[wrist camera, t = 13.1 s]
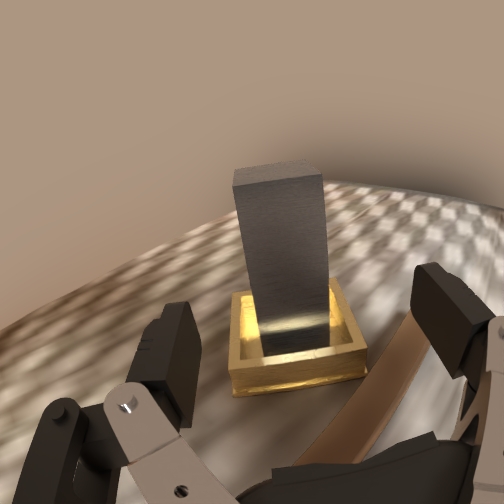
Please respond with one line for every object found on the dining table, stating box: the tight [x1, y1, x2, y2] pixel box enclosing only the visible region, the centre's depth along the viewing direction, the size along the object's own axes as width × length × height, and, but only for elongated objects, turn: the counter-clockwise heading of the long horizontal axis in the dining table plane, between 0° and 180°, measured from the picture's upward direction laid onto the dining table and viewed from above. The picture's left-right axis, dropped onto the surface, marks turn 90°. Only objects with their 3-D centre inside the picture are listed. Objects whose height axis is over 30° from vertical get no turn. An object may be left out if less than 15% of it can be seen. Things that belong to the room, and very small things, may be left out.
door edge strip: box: [292, 309, 431, 466], centre depth 17 cm, size 2×16×3 cm, turn 137°
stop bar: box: [232, 160, 330, 357], centre depth 22 cm, size 5×5×14 cm
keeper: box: [228, 277, 368, 397], centre depth 25 cm, size 10×10×3 cm
